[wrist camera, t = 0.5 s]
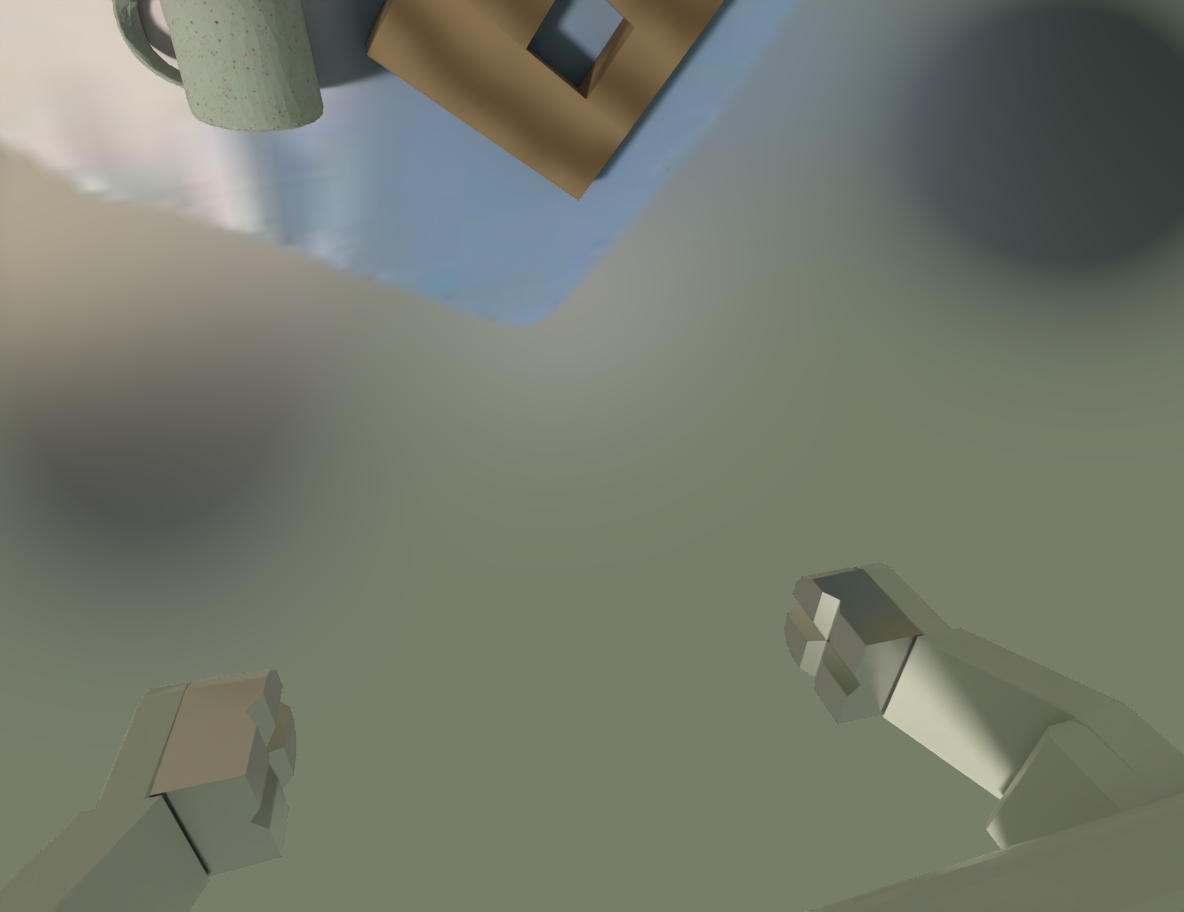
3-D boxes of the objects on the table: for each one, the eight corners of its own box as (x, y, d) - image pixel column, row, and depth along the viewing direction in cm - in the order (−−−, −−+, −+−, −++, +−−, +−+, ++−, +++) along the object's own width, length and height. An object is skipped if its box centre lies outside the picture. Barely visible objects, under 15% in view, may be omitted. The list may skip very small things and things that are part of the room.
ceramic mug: (294, -58, 37) (287, -29, 32) (325, 94, 43) (323, 138, 38) (89, -69, 35) (47, -41, 30) (152, 93, 41) (126, 140, 36)
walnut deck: (515, -276, 33) (525, -277, 32) (722, -26, 44) (737, -17, 43) (365, 43, 42) (366, 54, 40) (570, 187, 53) (578, 200, 51)
